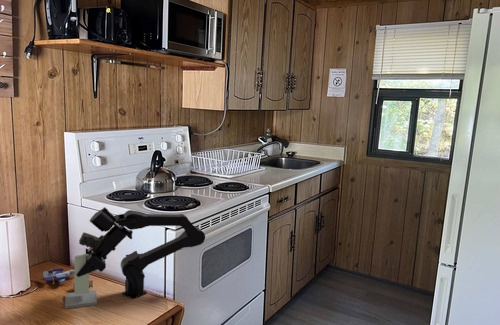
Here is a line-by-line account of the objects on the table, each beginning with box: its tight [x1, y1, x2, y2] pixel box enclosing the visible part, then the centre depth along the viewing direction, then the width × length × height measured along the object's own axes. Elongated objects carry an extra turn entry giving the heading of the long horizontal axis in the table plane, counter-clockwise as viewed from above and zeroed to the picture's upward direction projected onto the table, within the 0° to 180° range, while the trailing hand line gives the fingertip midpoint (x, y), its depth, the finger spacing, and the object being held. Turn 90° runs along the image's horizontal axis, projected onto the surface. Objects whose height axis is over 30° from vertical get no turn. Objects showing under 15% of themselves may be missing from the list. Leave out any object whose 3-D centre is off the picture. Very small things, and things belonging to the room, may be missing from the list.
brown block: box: [72, 277, 94, 291], centre depth 147 cm, size 6×3×3 cm, turn 140°
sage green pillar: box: [74, 253, 90, 295], centre depth 136 cm, size 4×4×12 cm
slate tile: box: [64, 289, 98, 310], centre depth 137 cm, size 10×10×1 cm
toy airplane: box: [42, 268, 75, 285], centre depth 152 cm, size 13×14×4 cm
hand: (77, 273), depth 136 cm, fingers closed on sage green pillar, 4 cm apart
